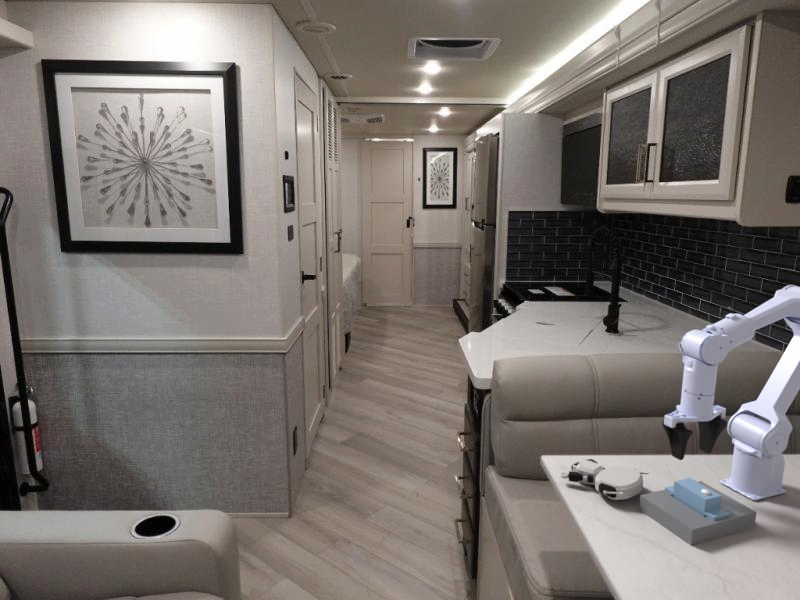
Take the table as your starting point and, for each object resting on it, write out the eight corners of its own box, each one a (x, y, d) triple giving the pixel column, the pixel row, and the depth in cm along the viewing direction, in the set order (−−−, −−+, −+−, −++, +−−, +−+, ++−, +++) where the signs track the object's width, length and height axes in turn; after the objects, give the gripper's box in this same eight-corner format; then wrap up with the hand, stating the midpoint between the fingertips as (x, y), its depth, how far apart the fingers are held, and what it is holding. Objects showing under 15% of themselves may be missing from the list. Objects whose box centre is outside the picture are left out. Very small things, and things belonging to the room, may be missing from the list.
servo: (678, 498, 109) (681, 471, 108) (728, 528, 99) (731, 499, 98) (663, 501, 108) (666, 474, 107) (711, 532, 98) (715, 503, 97)
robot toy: (556, 488, 116) (625, 513, 104) (556, 468, 115) (625, 491, 104) (585, 469, 124) (652, 490, 113) (585, 451, 123) (652, 470, 112)
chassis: (699, 494, 112) (700, 481, 111) (754, 526, 100) (756, 511, 100) (639, 509, 106) (640, 495, 105) (690, 545, 95) (692, 529, 94)
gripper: (706, 380, 113) (700, 440, 115) (654, 388, 108) (648, 452, 110) (738, 391, 106) (730, 454, 109) (684, 400, 101) (677, 467, 104)
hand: (691, 454), depth 109 cm, fingers open, 7 cm apart
